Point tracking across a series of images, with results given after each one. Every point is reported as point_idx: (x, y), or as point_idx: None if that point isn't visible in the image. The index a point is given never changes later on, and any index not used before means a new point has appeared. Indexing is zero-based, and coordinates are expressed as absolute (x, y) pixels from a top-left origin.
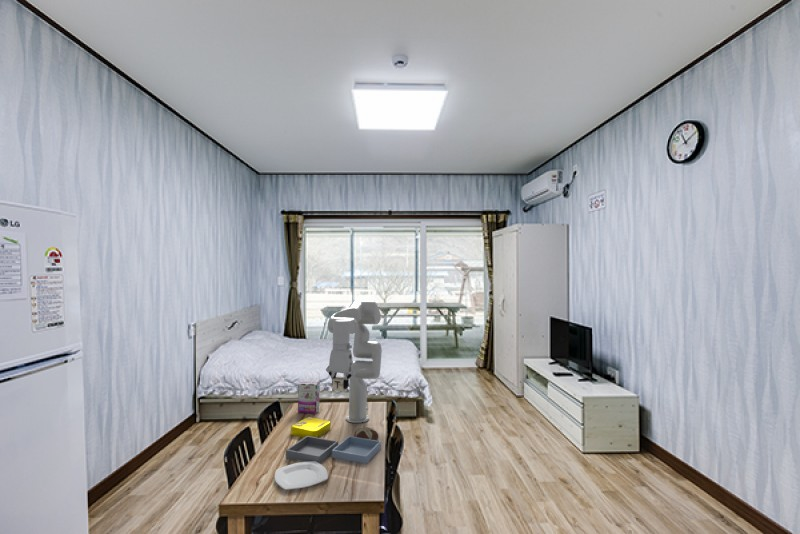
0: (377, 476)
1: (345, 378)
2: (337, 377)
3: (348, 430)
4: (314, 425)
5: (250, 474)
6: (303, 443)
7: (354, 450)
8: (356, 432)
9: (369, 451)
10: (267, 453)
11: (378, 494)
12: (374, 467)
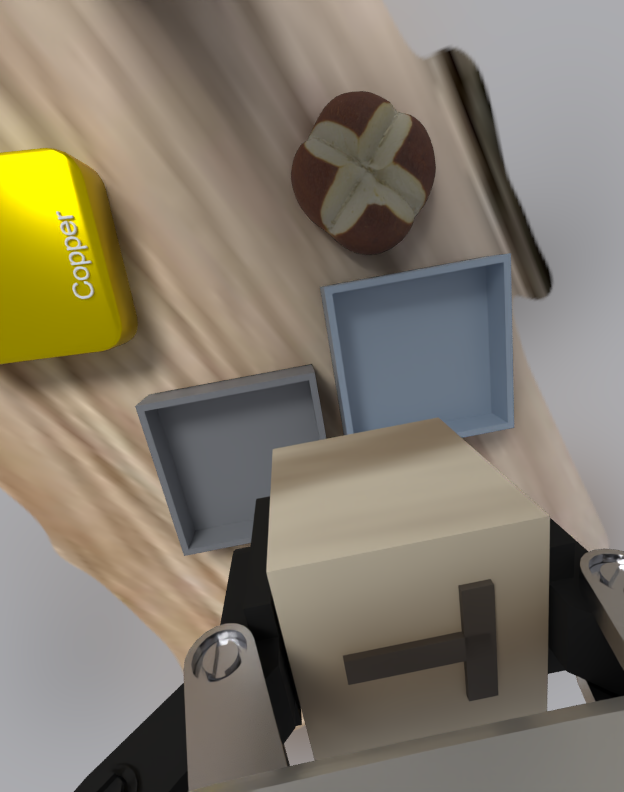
0: (564, 455)
1: (602, 688)
2: (321, 640)
3: (200, 124)
4: (47, 277)
5: (188, 650)
6: (161, 436)
7: (393, 345)
8: (324, 212)
9: (458, 316)
10: (93, 541)
11: (604, 533)
12: (529, 410)
